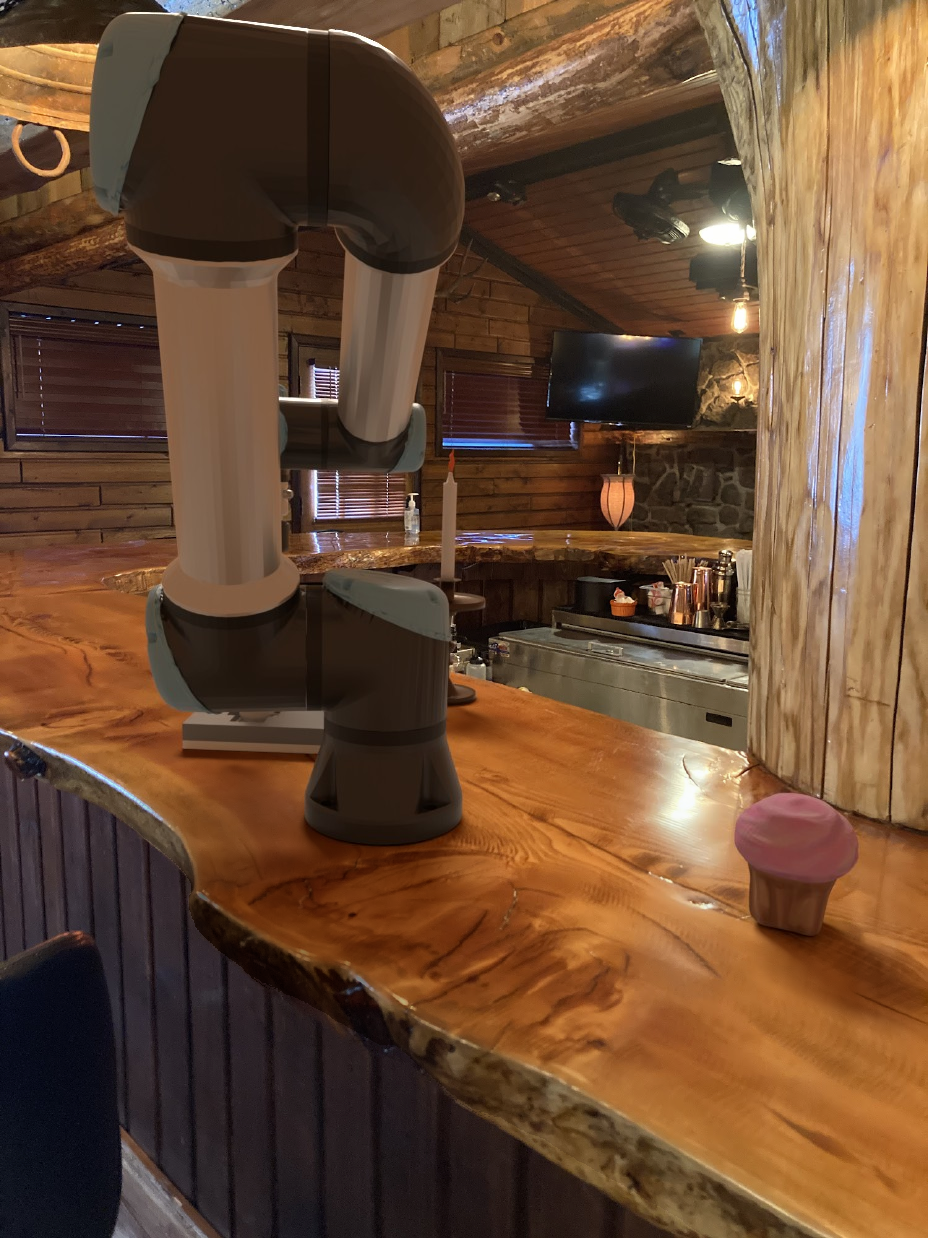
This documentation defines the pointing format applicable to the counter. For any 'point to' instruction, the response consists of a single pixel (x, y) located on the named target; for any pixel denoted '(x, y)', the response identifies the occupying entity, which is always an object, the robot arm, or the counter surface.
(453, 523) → the candlestick
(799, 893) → the cupcake
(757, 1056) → the counter surface
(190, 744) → the grey panel with recess
